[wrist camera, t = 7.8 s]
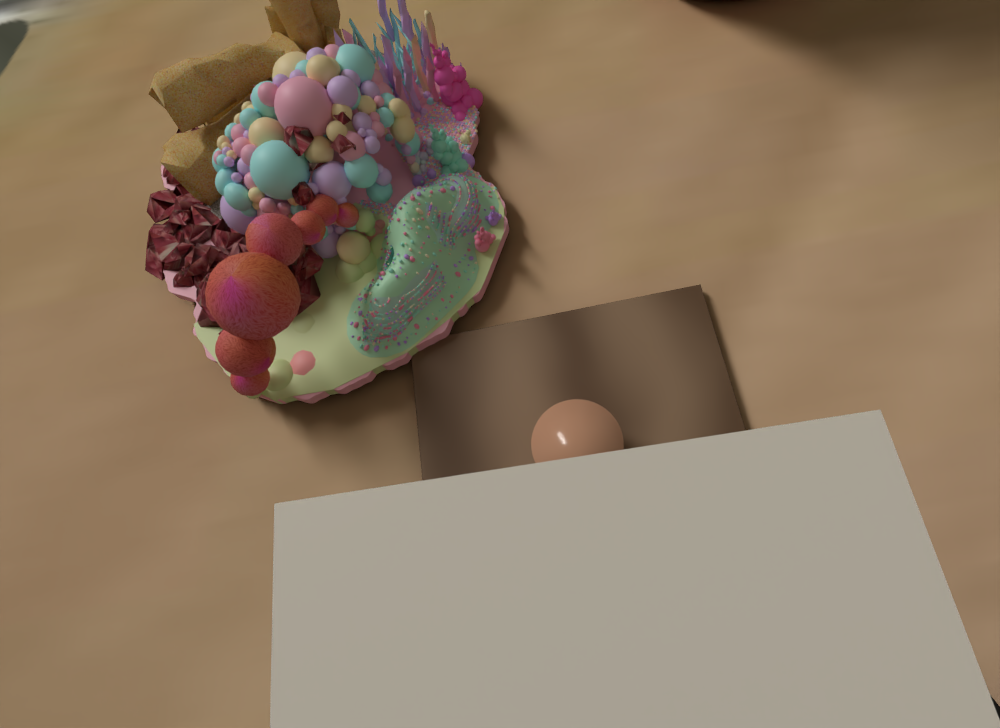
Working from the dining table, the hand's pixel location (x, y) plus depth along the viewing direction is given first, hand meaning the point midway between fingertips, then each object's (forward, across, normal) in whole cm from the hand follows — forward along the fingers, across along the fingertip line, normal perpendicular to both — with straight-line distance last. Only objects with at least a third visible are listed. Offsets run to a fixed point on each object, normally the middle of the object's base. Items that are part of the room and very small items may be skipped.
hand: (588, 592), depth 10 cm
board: (+17, 0, +9) cm, 19 cm away
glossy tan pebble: (+16, 0, +8) cm, 18 cm away
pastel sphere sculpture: (+30, +12, -4) cm, 33 cm away
